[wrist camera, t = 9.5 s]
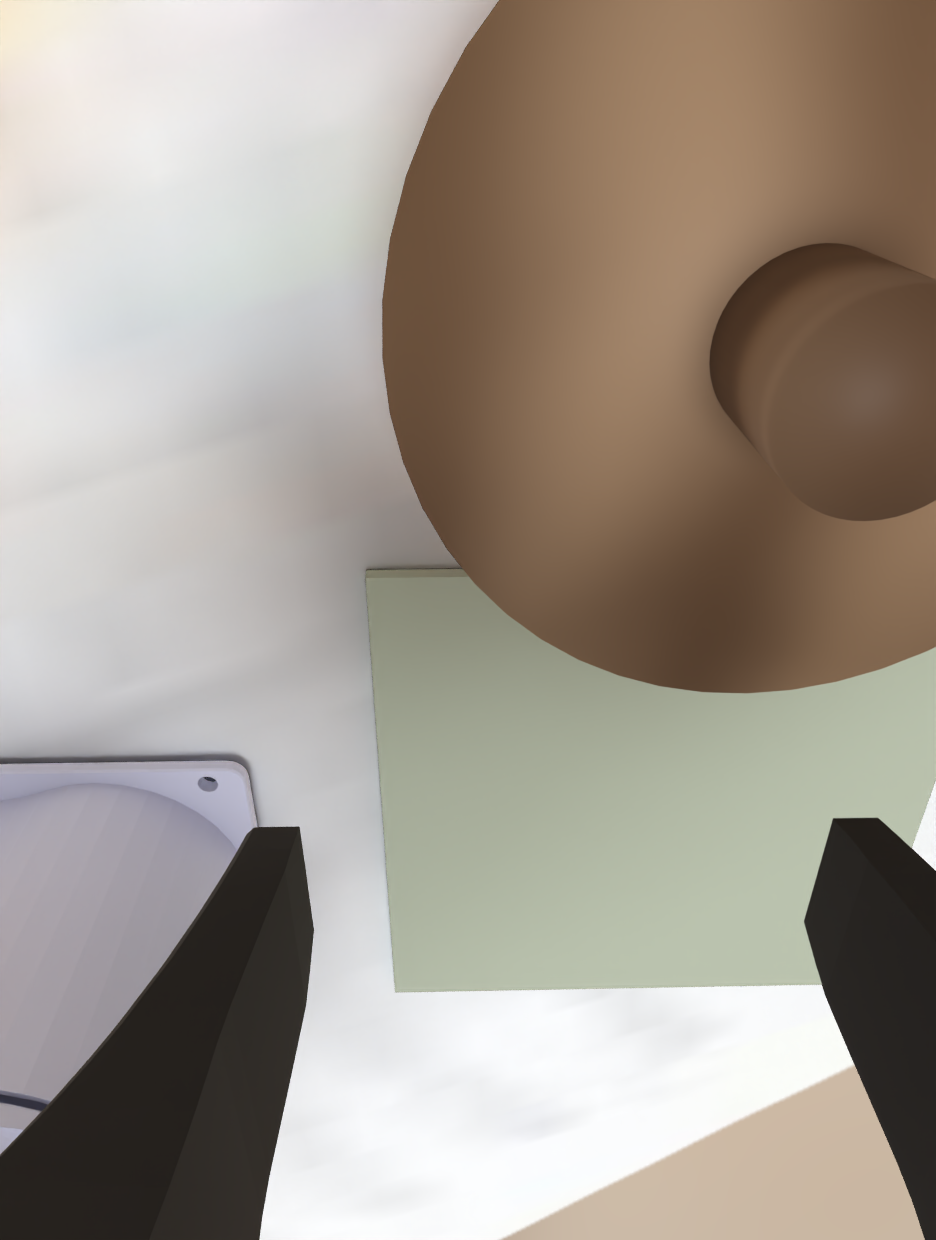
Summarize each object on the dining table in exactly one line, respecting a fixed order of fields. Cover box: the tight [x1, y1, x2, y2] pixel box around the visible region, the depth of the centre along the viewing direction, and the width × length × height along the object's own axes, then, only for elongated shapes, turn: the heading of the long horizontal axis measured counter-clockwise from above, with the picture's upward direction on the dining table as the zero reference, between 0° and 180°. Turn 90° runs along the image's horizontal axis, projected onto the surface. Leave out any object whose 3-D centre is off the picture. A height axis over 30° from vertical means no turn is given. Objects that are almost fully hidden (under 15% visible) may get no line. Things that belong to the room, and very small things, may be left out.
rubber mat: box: [365, 569, 936, 992], centre depth 25 cm, size 15×15×1 cm
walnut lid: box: [382, 0, 936, 693], centre depth 13 cm, size 13×13×4 cm
